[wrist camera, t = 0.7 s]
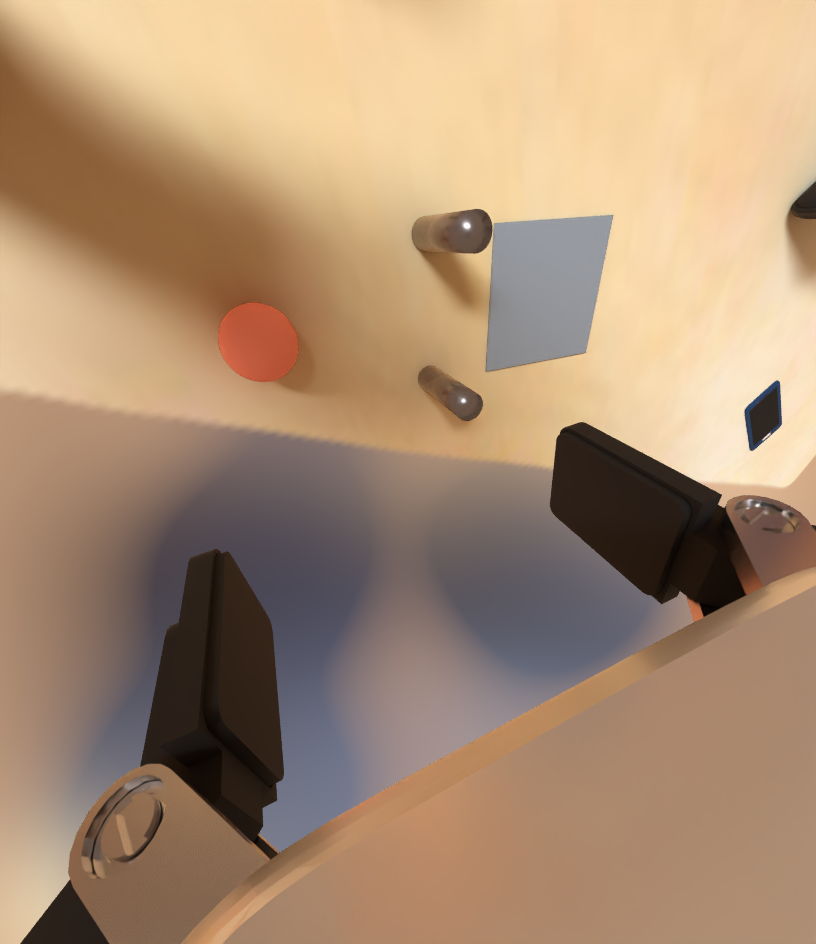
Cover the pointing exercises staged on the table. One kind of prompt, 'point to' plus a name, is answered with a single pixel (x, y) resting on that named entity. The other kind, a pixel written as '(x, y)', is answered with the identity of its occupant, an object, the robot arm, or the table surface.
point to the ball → (258, 342)
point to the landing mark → (544, 288)
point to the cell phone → (763, 415)
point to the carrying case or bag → (806, 204)
